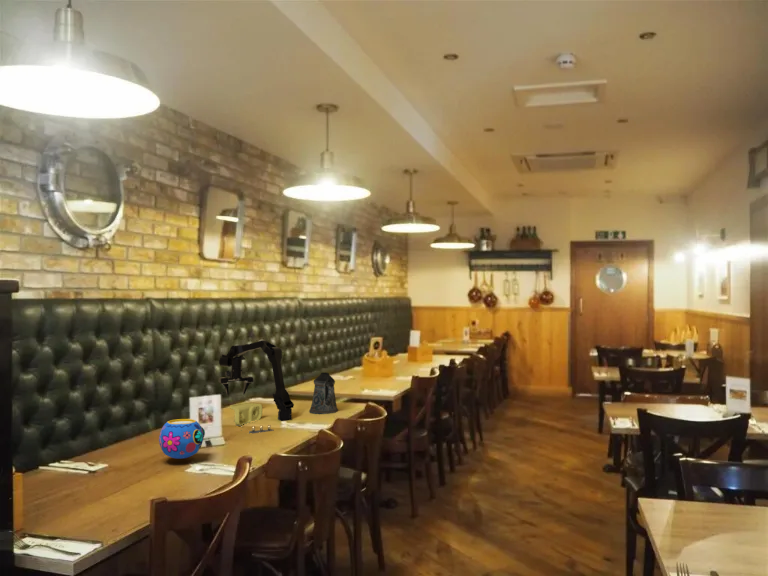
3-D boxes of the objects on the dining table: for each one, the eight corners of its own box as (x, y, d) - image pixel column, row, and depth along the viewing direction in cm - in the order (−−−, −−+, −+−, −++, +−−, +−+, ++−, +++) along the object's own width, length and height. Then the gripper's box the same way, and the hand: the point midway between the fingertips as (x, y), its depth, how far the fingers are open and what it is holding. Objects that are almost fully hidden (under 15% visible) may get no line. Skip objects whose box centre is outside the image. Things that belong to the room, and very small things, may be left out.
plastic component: (238, 426, 337) (238, 407, 338) (227, 425, 341) (227, 405, 341) (262, 420, 355) (262, 402, 355) (251, 419, 358) (251, 401, 359)
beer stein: (322, 413, 383) (323, 370, 383) (347, 416, 371) (348, 373, 372) (303, 416, 369) (304, 372, 370) (329, 420, 358) (329, 375, 359)
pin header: (272, 431, 326) (272, 424, 326) (273, 432, 323) (273, 425, 324) (248, 433, 320) (248, 426, 320) (250, 434, 318) (250, 427, 318)
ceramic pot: (200, 462, 261) (201, 424, 261) (154, 463, 258) (155, 425, 258) (205, 452, 278) (206, 417, 278) (162, 453, 275) (163, 417, 275)
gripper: (248, 365, 377) (247, 392, 377) (216, 366, 368) (215, 393, 368) (254, 367, 367) (253, 395, 367) (221, 368, 358) (220, 396, 358)
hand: (235, 395), depth 365 cm, fingers open, 9 cm apart
